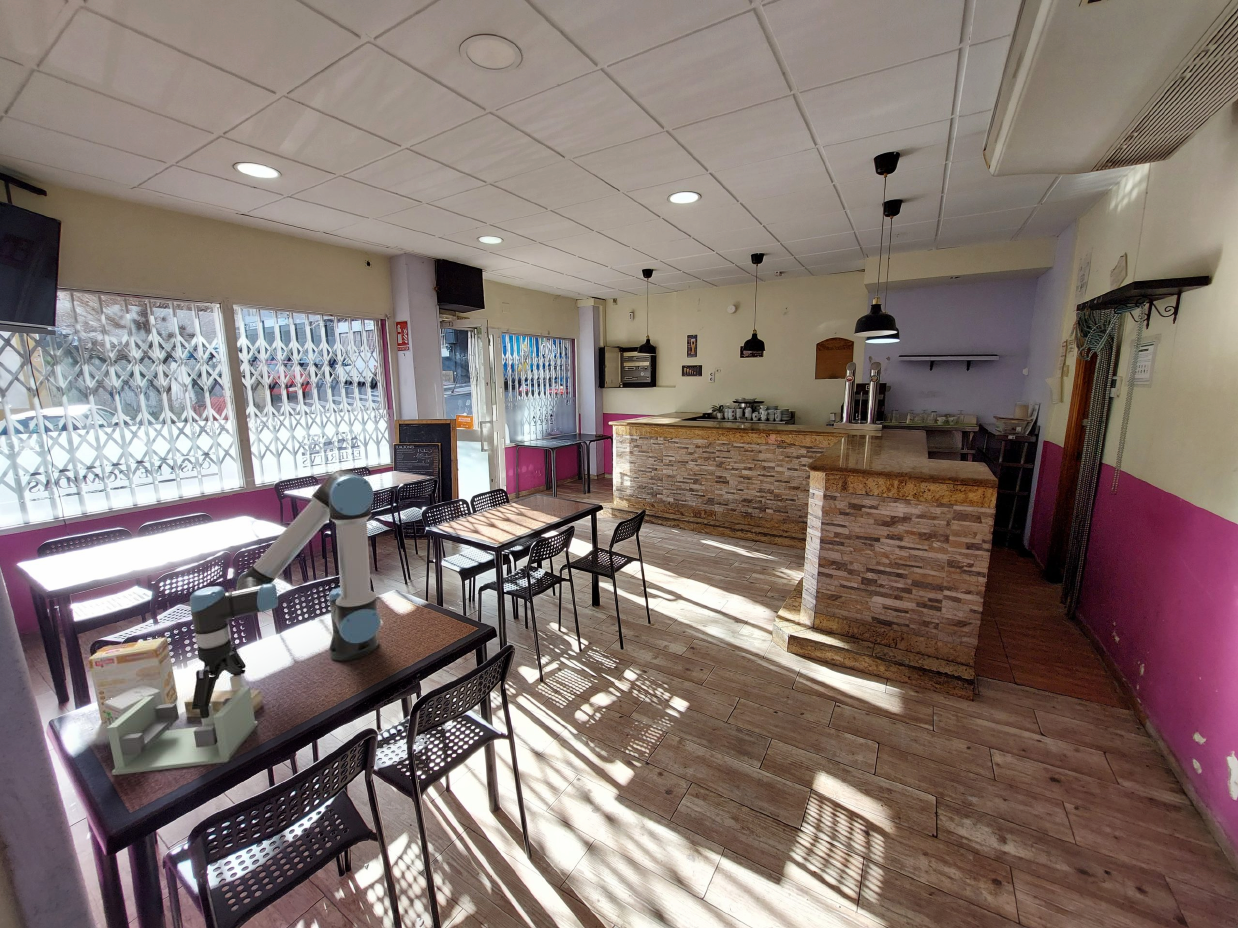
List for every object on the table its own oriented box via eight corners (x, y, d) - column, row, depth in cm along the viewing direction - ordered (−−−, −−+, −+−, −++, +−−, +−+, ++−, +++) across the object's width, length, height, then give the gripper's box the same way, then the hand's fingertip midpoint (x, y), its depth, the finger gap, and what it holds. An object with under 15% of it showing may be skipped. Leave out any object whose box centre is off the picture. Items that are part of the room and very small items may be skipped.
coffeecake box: (178, 696, 151) (168, 636, 148) (167, 710, 144) (155, 648, 141) (115, 707, 146) (102, 646, 143) (100, 723, 139) (86, 659, 136)
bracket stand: (257, 723, 138) (251, 684, 136) (226, 761, 125) (219, 718, 123) (156, 734, 134) (148, 694, 132) (112, 774, 121) (103, 730, 119)
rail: (263, 705, 147) (260, 689, 146) (251, 716, 142) (248, 700, 141) (201, 706, 147) (198, 690, 146) (187, 717, 142) (184, 701, 141)
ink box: (110, 741, 132) (102, 701, 130) (149, 720, 140) (142, 682, 138) (129, 749, 129) (121, 708, 127) (168, 727, 137) (161, 689, 135)
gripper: (226, 622, 152) (235, 685, 156) (166, 668, 128) (179, 742, 131) (253, 620, 153) (262, 683, 157) (199, 665, 129) (211, 739, 132)
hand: (224, 710), depth 144 cm, fingers open, 13 cm apart
